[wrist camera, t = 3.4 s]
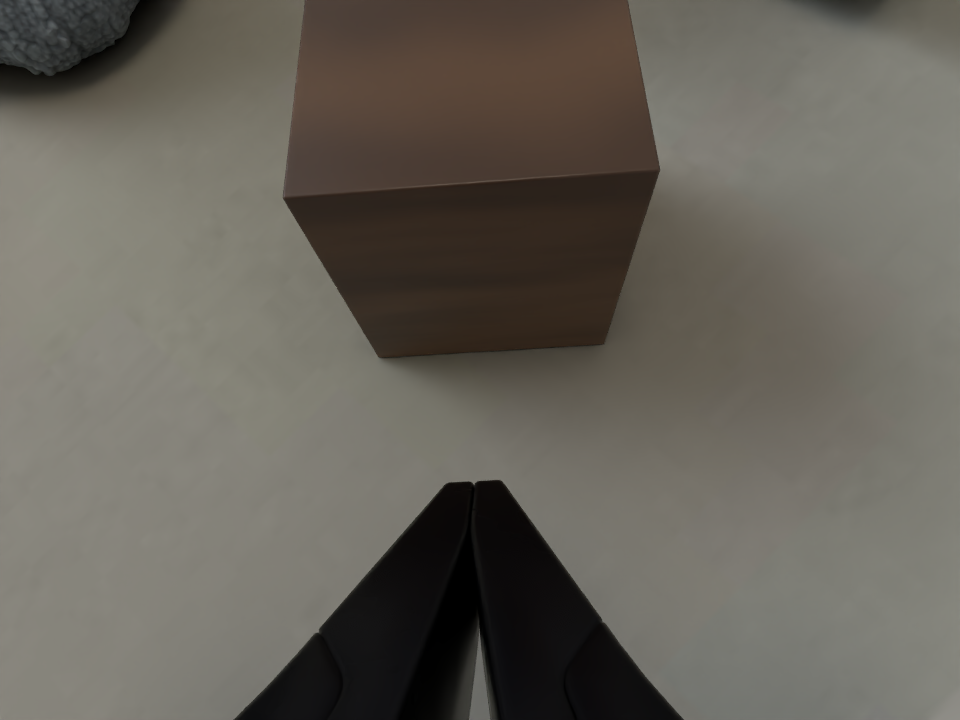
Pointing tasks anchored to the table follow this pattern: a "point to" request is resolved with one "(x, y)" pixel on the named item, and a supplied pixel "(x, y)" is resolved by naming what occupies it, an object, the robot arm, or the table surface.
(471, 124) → the walnut block
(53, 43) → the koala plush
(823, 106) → the table surface
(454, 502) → the robot arm
